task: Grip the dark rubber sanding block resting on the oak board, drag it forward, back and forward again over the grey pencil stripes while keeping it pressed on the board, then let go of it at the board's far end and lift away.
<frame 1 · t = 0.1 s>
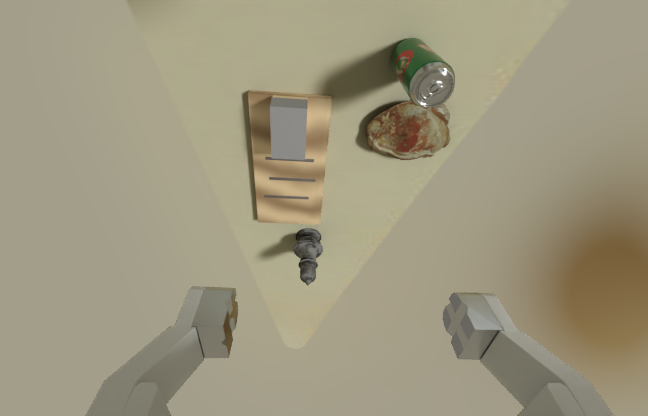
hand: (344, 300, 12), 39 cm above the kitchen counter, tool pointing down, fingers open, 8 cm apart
oyster shell: (409, 125, 50), on the kitchen counter
sanding block: (290, 122, 47), point 1 cm above the kitchen counter, touching board
board: (290, 165, 53), on the kitchen counter
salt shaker: (308, 236, 65), on the kitchen counter
soda can: (407, 57, 43), on the kitchen counter
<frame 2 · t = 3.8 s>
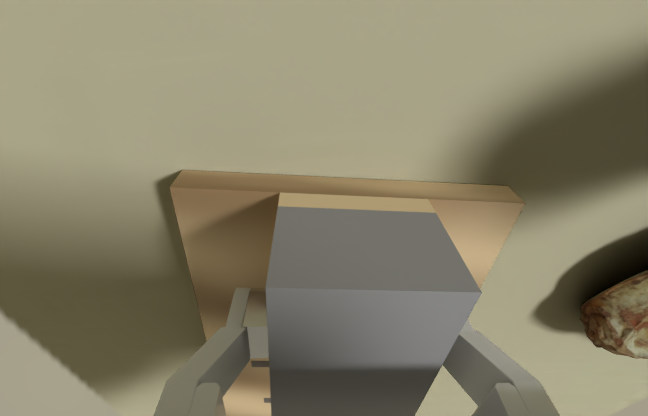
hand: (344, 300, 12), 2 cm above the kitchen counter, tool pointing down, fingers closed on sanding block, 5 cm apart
sanding block: (342, 278, 13), point 1 cm above the kitchen counter, touching board, gripper
board: (324, 362, 18), on the kitchen counter
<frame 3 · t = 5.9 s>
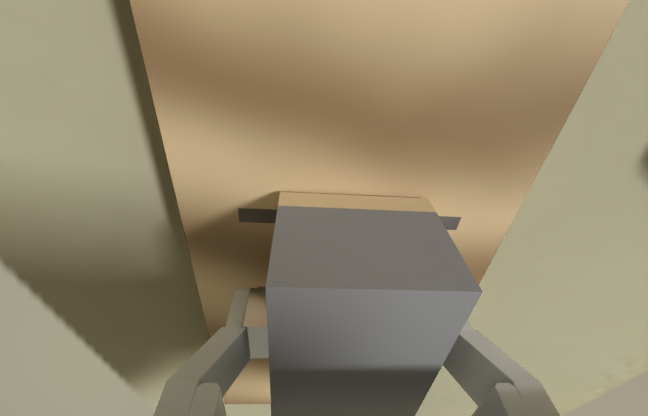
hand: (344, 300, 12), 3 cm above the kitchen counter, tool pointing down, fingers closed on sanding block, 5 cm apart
sanding block: (342, 278, 13), point 1 cm above the kitchen counter, touching gripper
board: (342, 239, 13), on the kitchen counter
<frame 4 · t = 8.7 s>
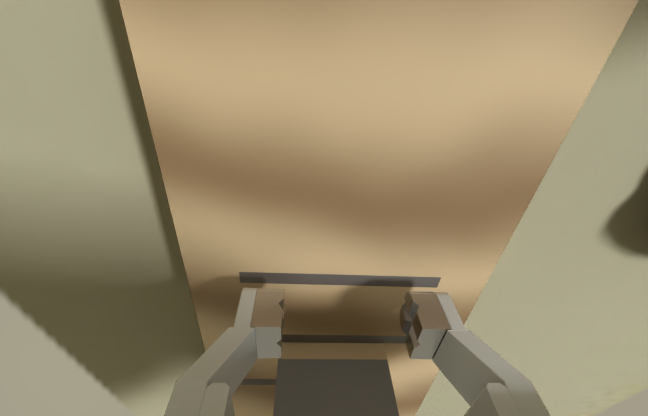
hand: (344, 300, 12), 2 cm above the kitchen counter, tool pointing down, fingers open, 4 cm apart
sanding block: (325, 384, 17), point 1 cm above the kitchen counter, touching board
board: (334, 290, 14), on the kitchen counter
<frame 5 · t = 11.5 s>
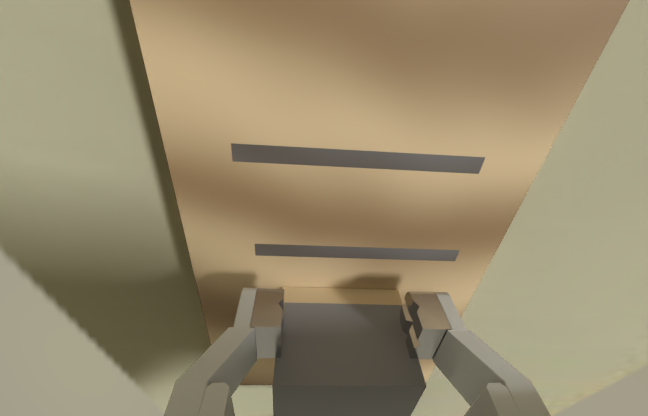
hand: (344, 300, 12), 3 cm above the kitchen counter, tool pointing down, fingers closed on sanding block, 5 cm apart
sanding block: (332, 341, 16), point 1 cm above the kitchen counter, touching gripper
board: (349, 192, 12), on the kitchen counter
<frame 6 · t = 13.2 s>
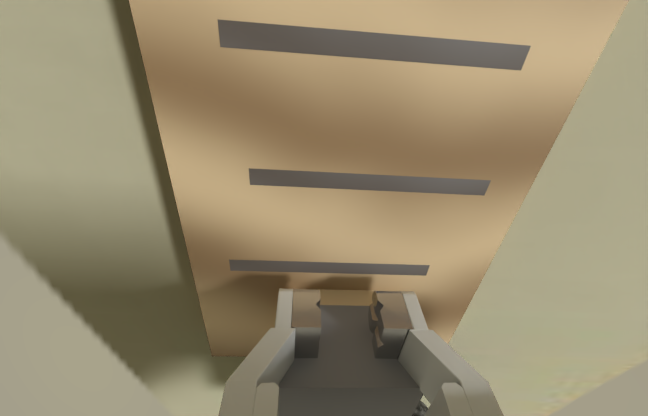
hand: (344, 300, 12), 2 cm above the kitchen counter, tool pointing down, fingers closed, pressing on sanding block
sanding block: (332, 343, 15), point 1 cm above the kitchen counter, touching board, gripper, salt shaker
board: (360, 109, 10), on the kitchen counter
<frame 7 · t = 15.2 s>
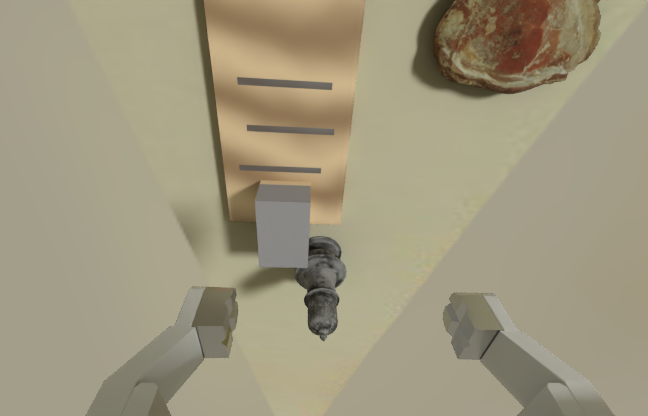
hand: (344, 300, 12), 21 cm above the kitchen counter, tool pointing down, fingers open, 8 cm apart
oyster shell: (513, 25, 26), on the kitchen counter
sanding block: (285, 214, 33), point 1 cm above the kitchen counter, touching board
board: (286, 104, 28), on the kitchen counter
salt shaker: (319, 252, 38), on the kitchen counter
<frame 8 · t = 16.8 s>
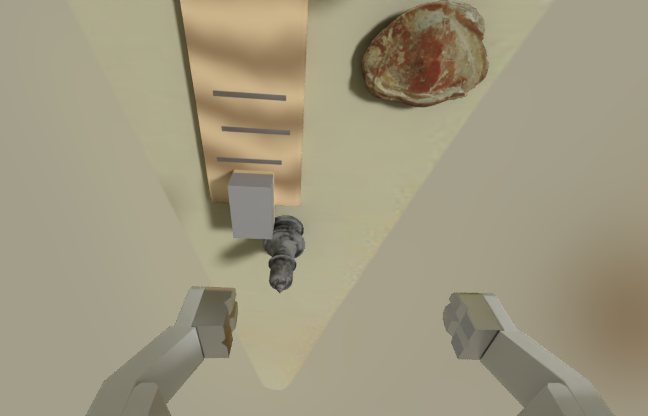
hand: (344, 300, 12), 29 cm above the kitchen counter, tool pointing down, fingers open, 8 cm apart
oyster shell: (425, 54, 34), on the kitchen counter
sanding block: (255, 196, 42), point 1 cm above the kitchen counter, touching board
board: (252, 110, 36), on the kitchen counter
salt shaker: (286, 228, 47), on the kitchen counter
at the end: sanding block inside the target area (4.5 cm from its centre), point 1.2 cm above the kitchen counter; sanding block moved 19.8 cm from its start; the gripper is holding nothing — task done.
